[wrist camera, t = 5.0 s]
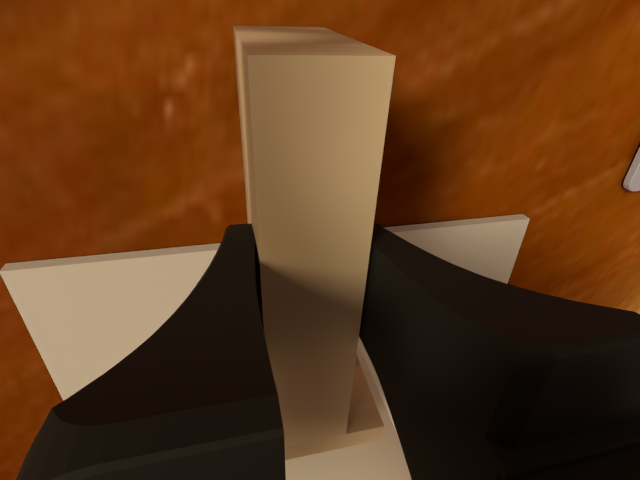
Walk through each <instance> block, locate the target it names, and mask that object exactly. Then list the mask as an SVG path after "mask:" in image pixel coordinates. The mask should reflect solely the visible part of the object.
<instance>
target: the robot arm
mask: <svg viewBox="0 0 640 480" xmlns="http://www.w3.org/2000/svg"><path fill="white" fill-rule="evenodd" d="M623 186H624V188H625V189H627V190H629V191H633V192H635V191H640V147H639V149H638V151H637V153H636V155H635V158H634V160H633V162H632V164H631V166H630V168H629V171H628V173H627V175H626V177H625V179H624V182H623ZM359 337H360V339H361V341H362V343H363V346H364V348H365V350H366V352H367V354H368V356H369V358H370V360H371V362H372V364H373V367H374V369H375V371H376V374H377V376H378V379H379V381H380V384H381V387H382V390H383V393H384V396H385V398H386V401H387V404H388V407H389V410H390V413H391V416H392V419H393V422H394V425H395V428H396V431H397V434H398V437H399V440H400V444H401V447H402V450H403V453H404V456H405V460H406V463H407V466H408V470H409V473H410V476H411V480H640V314H638V313H636V312H632V311H627V310H621V309H615V308H610V307H604V306H598V305H593V304H587V303H581V302H576V301H571V300H567V299H563V298H559V297H554V296H550V295H546V294H542V293H538V292H534V291H530V290H527V289H523V288H519V287H516V286H513V285H510V284H507V283H503V282H500V281H497V280H494V279H491V278H488V277H485V276H482V275H479V274H477V273H474V272H472V271H469V270H467V269H464V268H462V267H459V266H457V265H454V264H452V263H450V262H448V261H445V260H443V259H441V258H439V257H437V256H435V255H433V254H431V253H429V252H427V251H425V250H423V249H421V248H419V247H417V246H415V245H413V244H411V243H410V242H408V241H406V240H404V239H403V238H401V237H399V236H397V235H396V234H394V233H392V232H390V231H389V230H387V229H385V228H383V227H382V226H380V225H378V224H377V223H375V222H374V225H373V233H372V240H371V248H370V256H369V263H368V271H367V278H366V286H365V294H364V301H363V309H362V317H361V324H360V332H359ZM16 480H286V473H285V441H284V429H283V422H282V416H281V410H280V404H279V398H278V392H277V388H276V384H275V381H274V376H273V372H272V368H271V363H270V359H269V355H268V350H267V345H266V341H265V336H264V331H263V326H262V321H261V315H260V303H259V288H258V273H257V258H256V243H255V235H254V231H253V227H252V223H250V224H238V225H229V226H228V227H227V228H226V230H225V234H224V237H223V240H222V242H221V244H220V246H219V248H218V250H217V252H216V254H215V256H214V258H213V260H212V261H211V263H210V265H209V267H208V268H207V270H206V271H205V273H204V274H203V276H202V277H201V279H200V280H199V282H198V283H197V285H196V286H195V288H194V289H193V290H192V292H191V293H190V294H189V296H188V297H187V298H186V299H185V301H184V302H183V303H182V304H181V305H180V306H179V308H178V309H177V310H176V311H175V312H174V313H173V314H172V315H171V316H170V317H169V318H168V319H167V320H166V321H165V323H164V324H163V325H162V326H161V327H160V328H159V329H158V330H157V331H156V332H155V333H153V334H152V335H151V336H150V337H149V338H148V339H147V340H146V341H145V342H143V343H142V344H141V345H140V346H139V347H137V348H136V349H135V350H134V351H133V352H131V353H130V354H129V355H128V356H126V357H125V358H124V359H123V360H121V361H120V362H119V363H117V364H116V365H115V366H113V367H112V368H111V369H109V370H108V371H107V372H105V373H104V374H103V375H101V376H100V377H98V378H97V379H95V380H94V381H92V382H91V383H89V384H88V385H86V386H85V387H83V388H82V389H80V390H79V391H77V392H76V393H75V394H73V395H72V396H70V397H69V398H67V399H66V400H64V401H63V402H61V403H59V404H58V405H56V406H55V407H53V408H52V409H51V410H50V412H49V414H48V416H47V418H46V420H45V422H44V424H43V426H42V427H41V429H40V431H39V433H38V434H37V436H36V438H35V440H34V442H33V444H32V446H31V448H30V450H29V452H28V454H27V456H26V458H25V460H24V462H23V465H22V467H21V469H20V472H19V474H18V477H17V479H16Z"/></svg>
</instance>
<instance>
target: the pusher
mask: <svg viewBox="0 0 640 480" xmlns="http://www.w3.org/2000/svg"><path fill="white" fill-rule="evenodd" d="M233 32H234V46H235V59H236V72H237V85H238V99H239V112H240V125H241V139H242V152H243V165H244V178H245V192H246V205H247V218H248V224H250V223H252V227H253V231H254V235H255V243H256V258H257V273H258V288H259V303H260V315H261V321H262V326H263V331H264V336H265V341H266V345H267V350H268V355H269V359H270V363H271V368H272V372H273V376H274V381H275V384H276V388H277V392H278V398H279V404H280V410H281V416H282V422H283V429H284V441H285V460H289V459H294V458H298V457H303V456H308V455H312V454H317V453H322V452H326V451H331V450H336V449H340V448H345V447H350V446H354V445H359V444H364V443H368V442H373V441H378V440H381V439H382V434H383V430H384V424H383V421H382V419H381V416H380V414H379V411H378V409H377V406H376V403H375V401H374V398H373V396H372V393H371V391H370V388H369V385H368V383H367V380H366V378H365V375H364V373H363V370H362V367H361V365H360V362H359V360H358V357H357V347H358V339H359V332H360V324H361V317H362V309H363V301H364V294H365V286H366V278H367V271H368V263H369V256H370V248H371V240H372V233H373V225H374V217H375V210H376V202H377V195H378V187H379V179H380V172H381V164H382V156H383V149H384V141H385V134H386V126H387V118H388V111H389V103H390V96H391V88H392V80H393V73H394V65H395V57H396V56H394V55H392V54H389V53H387V52H384V51H382V50H379V49H377V48H374V47H372V46H369V45H367V44H364V43H362V42H359V41H357V40H354V39H352V38H349V37H347V36H344V35H342V34H339V33H337V32H334V31H332V30H329V29H326V28H322V27H277V26H233Z"/></svg>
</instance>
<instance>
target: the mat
mask: <svg viewBox="0 0 640 480" xmlns="http://www.w3.org/2000/svg"><path fill="white" fill-rule="evenodd" d="M529 220H530V219H529V218H528V217H527V216H525V215H524V214H518V215H508V216H497V217H487V218H477V219H466V220H456V221H445V222H435V223H425V224H414V225H404V226H393V227H383V228H385V229H387V230H389V231H390V232H392V233H394V234H396V235H397V236H399V237H401V238H403V239H404V240H406V241H408V242H410V243H411V244H413V245H415V246H417V247H419V248H421V249H423V250H425V251H427V252H429V253H431V254H433V255H435V256H437V257H439V258H441V259H443V260H445V261H448V262H450V263H452V264H454V265H457V266H459V267H462V268H464V269H467V270H469V271H472V272H474V273H477V274H479V275H482V276H485V277H488V278H491V279H494V280H497V281H500V282H503V283H507V284H508V281H509V278H510V275H511V272H512V269H513V266H514V263H515V261H516V258H517V255H518V252H519V249H520V246H521V243H522V240H523V237H524V235H525V232H526V229H527V226H528V223H529ZM220 244H221V243H216V244H206V245H196V246H185V247H175V248H164V249H154V250H144V251H133V252H123V253H112V254H102V255H92V256H81V257H71V258H60V259H50V260H40V261H29V262H19V263H8V264H5V265H4V266H3V268H2V269H1V270H0V274H1V276H2V278H3V280H4V282H5V284H6V286H7V288H8V290H9V292H10V294H11V296H12V298H13V300H14V302H15V304H16V306H17V308H18V310H19V312H20V314H21V316H22V318H23V320H24V322H25V324H26V326H27V328H28V330H29V332H30V334H31V336H32V338H33V340H34V342H35V344H36V347H37V349H38V351H39V353H40V355H41V357H42V359H43V361H44V363H45V365H46V367H47V369H48V371H49V373H50V375H51V377H52V379H53V381H54V383H55V385H56V387H57V389H58V391H59V393H60V395H61V397H62V399H63V401H64V400H66V399H67V398H69V397H70V396H72V395H73V394H75V393H76V392H77V391H79V390H80V389H82V388H83V387H85V386H86V385H88V384H89V383H91V382H92V381H94V380H95V379H97V378H98V377H100V376H101V375H103V374H104V373H105V372H107V371H108V370H109V369H111V368H112V367H113V366H115V365H116V364H117V363H119V362H120V361H121V360H123V359H124V358H125V357H126V356H128V355H129V354H130V353H131V352H133V351H134V350H135V349H136V348H137V347H139V346H140V345H141V344H142V343H143V342H145V341H146V340H147V339H148V338H149V337H150V336H151V335H152V334H153V333H155V332H156V331H157V330H158V329H159V328H160V327H161V326H162V325H163V324H164V323H165V321H166V320H167V319H168V318H169V317H170V316H171V315H172V314H173V313H174V312H175V311H176V310H177V309H178V308H179V306H180V305H181V304H182V303H183V302H184V301H185V299H186V298H187V297H188V296H189V294H190V293H191V292H192V290H193V289H194V288H195V286H196V285H197V283H198V282H199V280H200V279H201V277H202V276H203V274H204V273H205V271H206V270H207V268H208V267H209V265H210V263H211V261H212V260H213V258H214V256H215V254H216V252H217V250H218V248H219V246H220ZM358 343H359V346H360V348H361V350H362V353H363V355H364V357H365V360H366V362H367V365H368V367H369V369H370V372H371V374H372V376H373V379H374V381H375V383H376V386H377V388H378V390H379V393H380V395H381V398H382V400H383V402H384V405H385V407H386V409H387V412H388V414H389V416H390V419H391V421H392V423H393V426H394V428H395V425H394V422H393V419H392V416H391V413H390V410H389V407H388V404H387V401H386V398H385V396H384V393H383V390H382V387H381V384H380V381H379V379H378V376H377V374H376V371H375V369H374V367H373V364H372V362H371V360H370V358H369V356H368V354H367V352H366V350H365V348H364V346H363V343H362V341H361V339H360V337H359V339H358ZM395 431H396V428H395ZM396 433H397V431H396ZM397 435H398V434H397Z"/></svg>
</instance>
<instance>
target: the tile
mask: <svg viewBox="0 0 640 480" xmlns="http://www.w3.org/2000/svg"><path fill="white" fill-rule="evenodd" d="M357 357H358V360H359V362H360V365H361V367H362V370H363V373H364V375H365V378H366V380H367V383H368V385H369V388H370V391H371V393H372V396H373V398H374V401H375V403H376V406H377V409H378V411H379V414H380V416H381V419H382V421H383V424H384V430H383V434H382V439H381V440H378V441H373V442H368V443H364V444H359V445H354V446H350V447H345V448H340V449H336V450H331V451H326V452H322V453H317V454H312V455H308V456H303V457H298V458H294V459H289V460H285V473H286V480H411V476H410V473H409V470H408V466H407V463H406V460H405V456H404V453H403V450H402V447H401V444H400V440H399V438H398V435H397V433H396V431H395V428H394V426H393V423H392V421H391V419H390V416H389V414H388V412H387V409H386V407H385V405H384V402H383V400H382V398H381V395H380V393H379V390H378V388H377V386H376V383H375V381H374V379H373V376H372V374H371V372H370V369H369V367H368V365H367V362H366V360H365V357H364V355H363V353H362V350H361V348H360V346H359V343H358V347H357Z"/></svg>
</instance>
